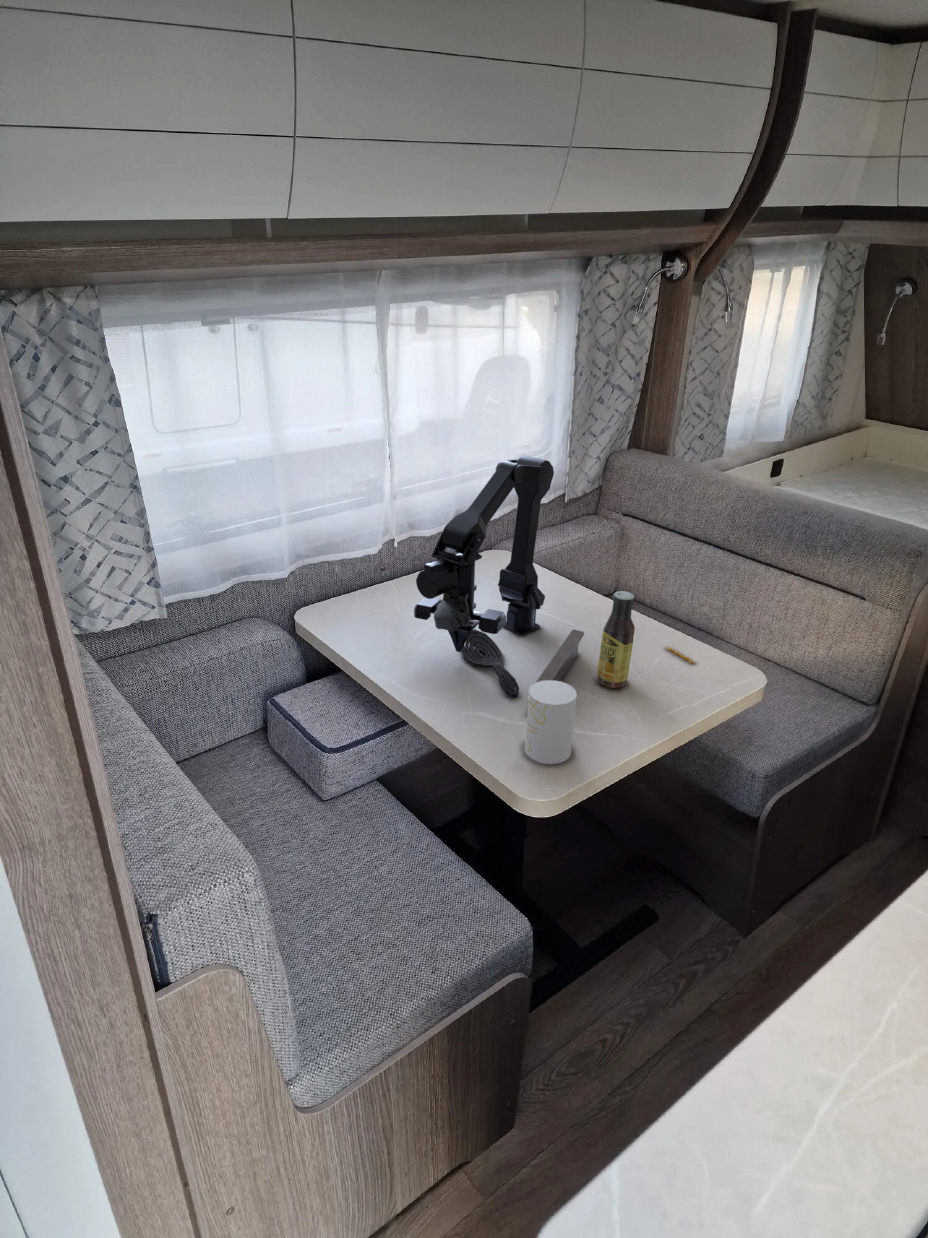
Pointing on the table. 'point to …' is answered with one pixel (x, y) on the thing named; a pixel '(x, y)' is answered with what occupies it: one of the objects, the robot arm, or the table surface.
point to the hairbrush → (489, 659)
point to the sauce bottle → (617, 642)
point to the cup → (550, 721)
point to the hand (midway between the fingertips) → (459, 651)
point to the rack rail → (562, 658)
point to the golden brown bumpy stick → (681, 655)
